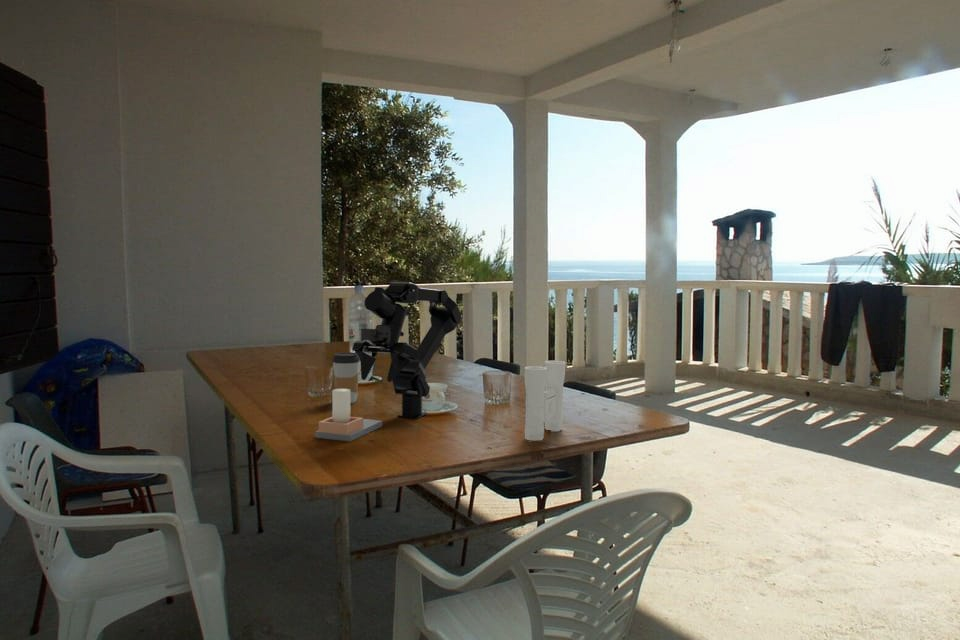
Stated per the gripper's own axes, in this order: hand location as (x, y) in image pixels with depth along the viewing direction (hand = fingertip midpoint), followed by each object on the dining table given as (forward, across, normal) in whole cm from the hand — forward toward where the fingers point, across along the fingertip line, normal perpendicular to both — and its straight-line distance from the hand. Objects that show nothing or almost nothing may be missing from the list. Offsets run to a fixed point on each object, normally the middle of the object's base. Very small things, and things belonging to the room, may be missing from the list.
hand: (375, 380), depth 173 cm
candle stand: (+14, -4, 0) cm, 15 cm away
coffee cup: (+2, -31, +21) cm, 38 cm away
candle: (+14, -2, -4) cm, 15 cm away
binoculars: (+4, +37, +26) cm, 46 cm away
